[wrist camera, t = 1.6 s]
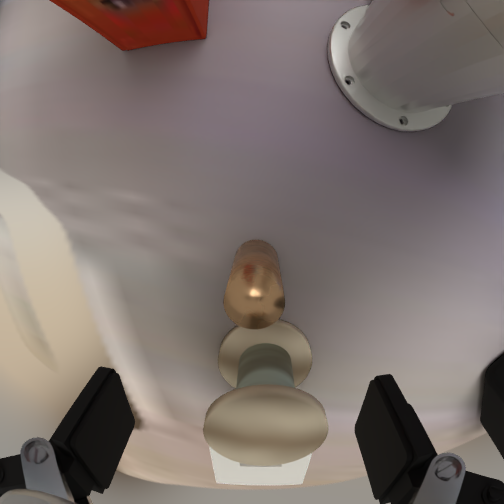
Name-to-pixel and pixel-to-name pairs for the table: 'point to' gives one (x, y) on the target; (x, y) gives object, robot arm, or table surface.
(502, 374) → the air purifier
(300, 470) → the notched board
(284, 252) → the table surface
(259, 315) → the copper pin
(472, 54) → the robot arm
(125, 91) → the table surface
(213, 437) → the spool
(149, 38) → the file binder
